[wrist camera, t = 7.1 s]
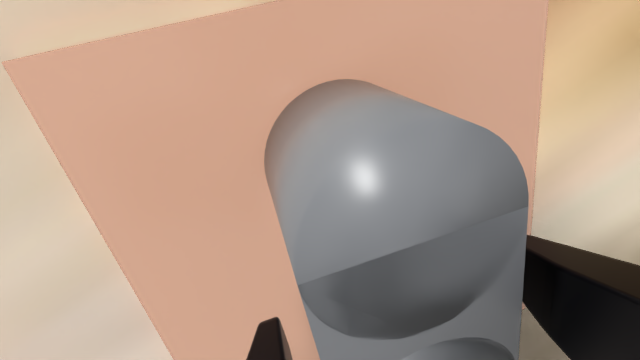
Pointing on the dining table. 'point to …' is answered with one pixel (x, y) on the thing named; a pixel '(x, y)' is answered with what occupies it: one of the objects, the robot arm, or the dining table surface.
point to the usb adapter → (399, 226)
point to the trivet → (255, 137)
